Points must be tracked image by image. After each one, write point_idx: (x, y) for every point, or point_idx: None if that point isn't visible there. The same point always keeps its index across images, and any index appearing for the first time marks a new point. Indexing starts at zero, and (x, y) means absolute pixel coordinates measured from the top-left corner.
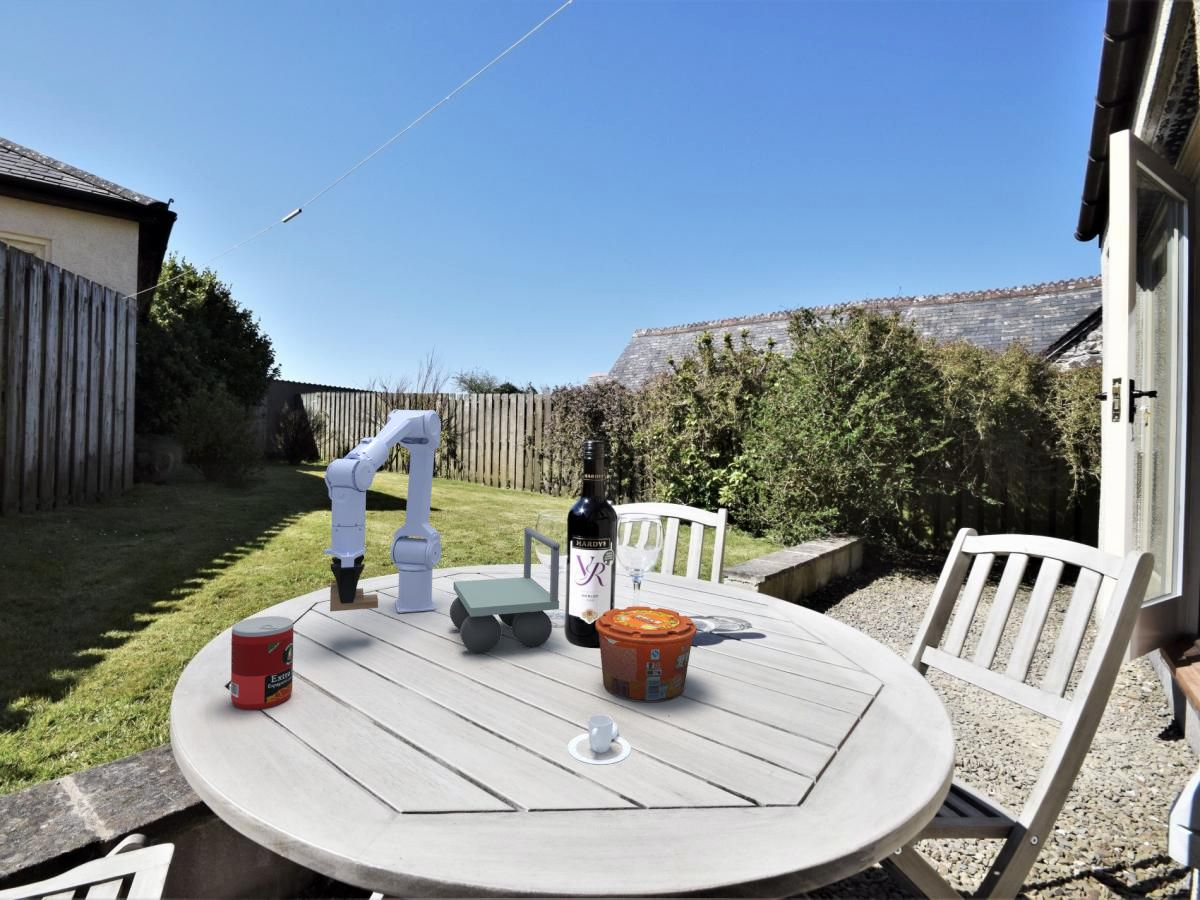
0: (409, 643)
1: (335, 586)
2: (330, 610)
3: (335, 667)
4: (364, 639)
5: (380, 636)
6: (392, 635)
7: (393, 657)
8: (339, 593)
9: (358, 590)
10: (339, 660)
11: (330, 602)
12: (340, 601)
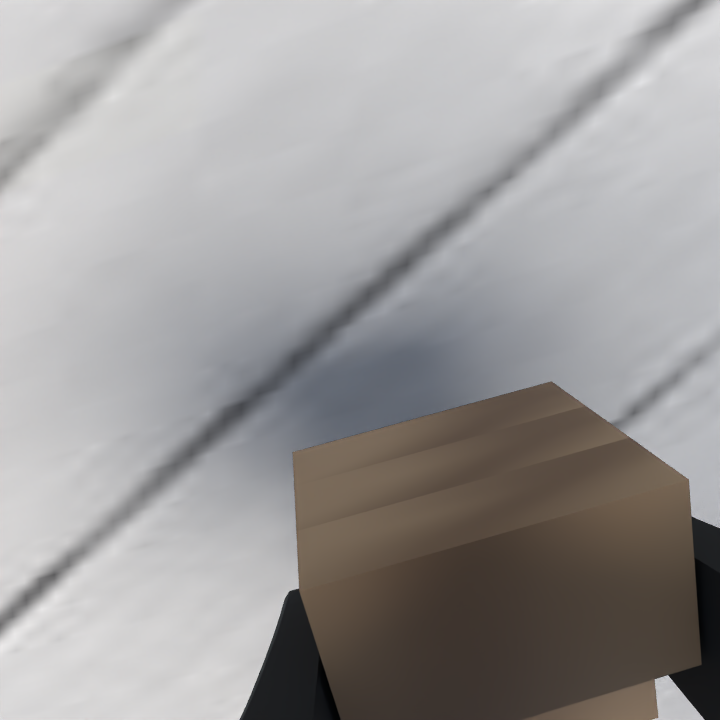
0: None
1: (483, 592)
2: (294, 459)
3: (10, 465)
4: None
5: None
6: None
7: (174, 684)
8: (260, 673)
9: (570, 706)
10: (122, 453)
11: (298, 496)
12: (286, 601)
